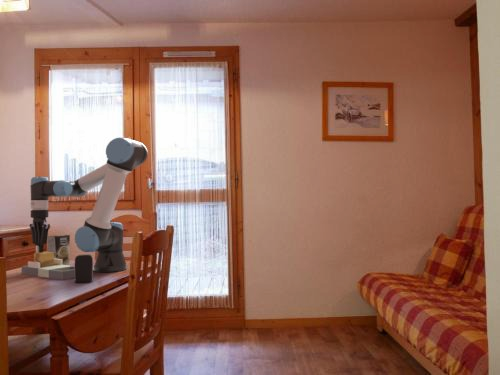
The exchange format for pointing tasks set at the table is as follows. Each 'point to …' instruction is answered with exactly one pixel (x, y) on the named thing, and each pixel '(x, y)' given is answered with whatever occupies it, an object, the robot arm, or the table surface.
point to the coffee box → (59, 247)
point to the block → (44, 258)
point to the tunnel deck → (50, 270)
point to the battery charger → (83, 268)
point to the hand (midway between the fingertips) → (39, 259)
